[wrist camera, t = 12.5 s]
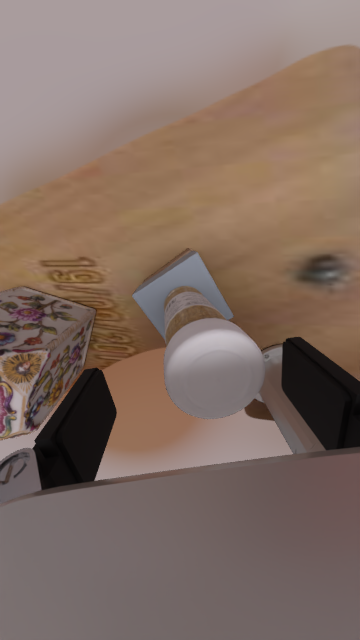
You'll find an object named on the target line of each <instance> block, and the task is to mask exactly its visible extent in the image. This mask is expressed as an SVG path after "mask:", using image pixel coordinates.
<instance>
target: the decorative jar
mask: <svg viewBox="0 0 360 640" xmlns="http://www.w3.org/2000/svg"><path fill="white" fill-rule="evenodd" d="M95 314H96V310H95V309H93V308H90V307H87V306H84V305H81V304H78V303H75V302H72V301H68V300H65V299H62V298H58V297H55V296H52V295H49V294H45V293H42V292H39V291H36V290H33V289H30V288H26V287H17V288H13V289H9V290H5V291H2V292H0V440H3V439H8V438H15V437H19V436H21V435H27V434H29V433H32V432H35V431H37V430H38V428H39V427H40V425H41V424H42V423H43V421H44V420H45V419H46V417H47V416H48V415H49V413H50V412H51V411H52V410H53V408H54V407H55V406H56V404H57V403H58V401H59V400H60V399H61V398H62V396H63V395H64V394H65V392H66V391H67V390H68V388H69V387H70V385H71V384H72V383H73V381H74V380H75V378H76V377H77V375H78V374H79V372H80V371H81V370H82V368H83V366H84V363H85V358H86V354H87V349H88V345H89V341H90V337H91V332H92V327H93V323H94V319H95Z"/></svg>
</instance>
